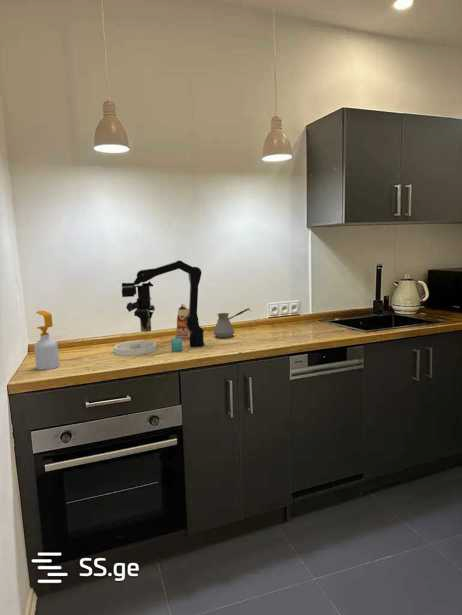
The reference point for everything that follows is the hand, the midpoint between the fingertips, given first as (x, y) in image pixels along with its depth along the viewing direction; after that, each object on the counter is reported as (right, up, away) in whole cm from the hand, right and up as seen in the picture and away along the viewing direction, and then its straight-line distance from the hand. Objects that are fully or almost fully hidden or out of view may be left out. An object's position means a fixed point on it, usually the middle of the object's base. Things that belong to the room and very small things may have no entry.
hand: (145, 327), depth 197 cm
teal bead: (+16, -11, -3) cm, 19 cm away
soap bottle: (-37, -16, -23) cm, 47 cm away
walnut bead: (0, -2, 0) cm, 2 cm away
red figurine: (+17, -8, +23) cm, 30 cm away
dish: (-5, -11, +1) cm, 13 cm away
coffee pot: (+43, -6, +27) cm, 51 cm away
